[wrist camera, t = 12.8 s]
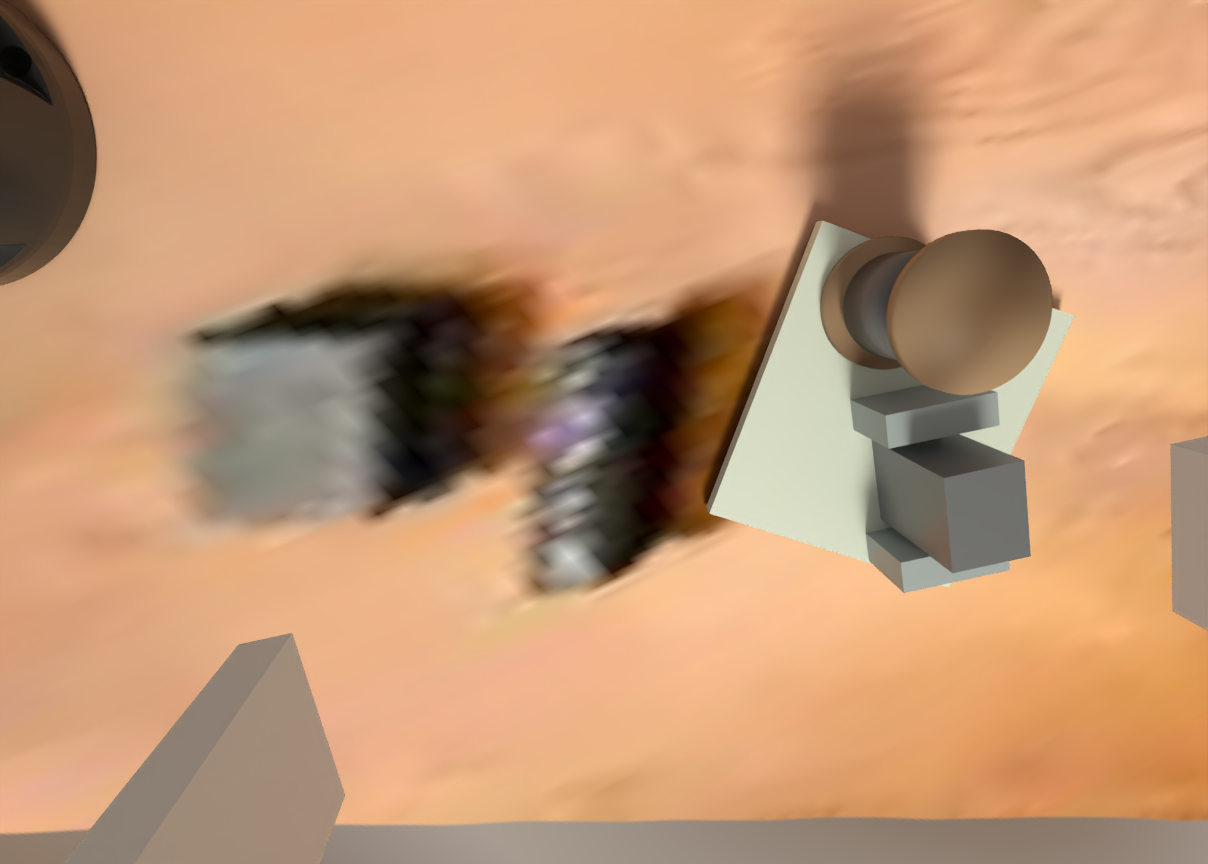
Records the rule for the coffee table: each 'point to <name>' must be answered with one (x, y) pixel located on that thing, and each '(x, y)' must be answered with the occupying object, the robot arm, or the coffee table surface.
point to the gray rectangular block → (955, 500)
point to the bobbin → (940, 308)
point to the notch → (907, 423)
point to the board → (832, 421)
